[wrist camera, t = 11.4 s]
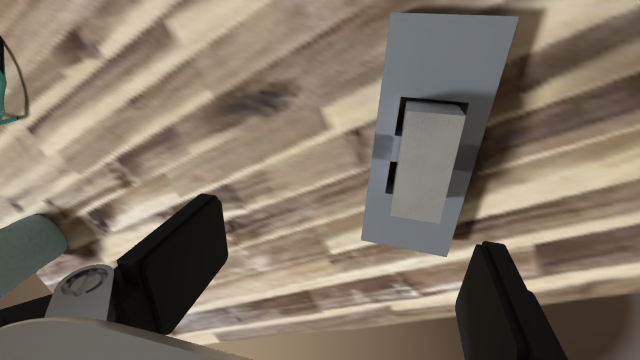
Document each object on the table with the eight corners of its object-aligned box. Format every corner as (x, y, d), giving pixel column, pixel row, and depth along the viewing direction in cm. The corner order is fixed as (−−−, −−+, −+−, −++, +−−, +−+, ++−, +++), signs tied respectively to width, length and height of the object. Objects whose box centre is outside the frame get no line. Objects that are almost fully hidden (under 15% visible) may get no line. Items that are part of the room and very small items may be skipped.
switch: (392, 15, 25) (391, 12, 23) (506, 19, 24) (519, 16, 21) (364, 225, 35) (361, 240, 33) (443, 240, 33) (446, 257, 31)
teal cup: (55, 213, 50) (-36, 258, 40) (80, 260, 55) (3, 312, 44) (15, 209, 53) (-80, 251, 43) (42, 254, 57) (-40, 302, 47)
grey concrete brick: (406, 94, 28) (406, 111, 21) (451, 97, 27) (465, 116, 20) (393, 179, 32) (390, 215, 25) (432, 184, 31) (439, 223, 24)
